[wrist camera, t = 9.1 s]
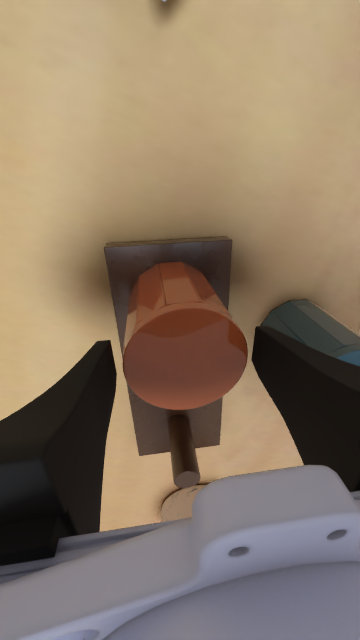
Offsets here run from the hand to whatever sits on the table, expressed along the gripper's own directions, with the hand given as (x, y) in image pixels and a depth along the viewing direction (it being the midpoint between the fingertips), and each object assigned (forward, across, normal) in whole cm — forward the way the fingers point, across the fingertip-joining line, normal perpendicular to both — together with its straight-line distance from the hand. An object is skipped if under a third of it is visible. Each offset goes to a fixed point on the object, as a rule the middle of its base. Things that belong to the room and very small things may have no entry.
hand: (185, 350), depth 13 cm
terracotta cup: (+6, 0, 0) cm, 6 cm away
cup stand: (+7, 0, +6) cm, 9 cm away
